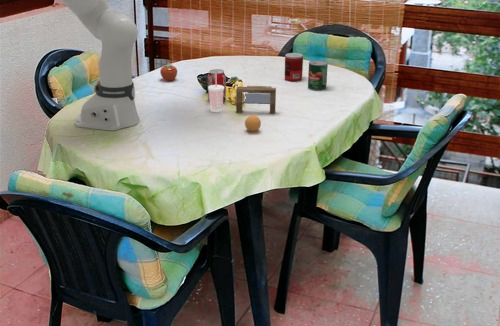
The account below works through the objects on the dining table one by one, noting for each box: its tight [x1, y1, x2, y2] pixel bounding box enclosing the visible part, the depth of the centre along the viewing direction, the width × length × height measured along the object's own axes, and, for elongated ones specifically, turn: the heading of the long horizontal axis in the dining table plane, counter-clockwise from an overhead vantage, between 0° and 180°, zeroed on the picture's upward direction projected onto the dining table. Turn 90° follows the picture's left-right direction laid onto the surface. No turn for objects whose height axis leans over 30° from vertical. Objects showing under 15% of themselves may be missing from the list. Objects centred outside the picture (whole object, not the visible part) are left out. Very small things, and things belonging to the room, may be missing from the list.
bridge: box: [235, 86, 277, 115], centre depth 231 cm, size 3×14×9 cm, turn 86°
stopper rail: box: [246, 85, 273, 88], centre depth 254 cm, size 10×2×2 cm, turn 86°
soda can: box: [207, 68, 227, 102], centre depth 242 cm, size 7×7×12 cm
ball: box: [244, 114, 262, 132], centre depth 213 cm, size 6×6×6 cm
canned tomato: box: [307, 59, 329, 92], centre depth 259 cm, size 8×8×11 cm
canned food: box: [284, 52, 304, 83], centre depth 271 cm, size 8×8×11 cm
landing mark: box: [243, 92, 270, 105], centre depth 247 cm, size 12×12×1 cm
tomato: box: [159, 62, 178, 82], centre depth 269 cm, size 7×7×8 cm
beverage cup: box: [207, 74, 224, 113], centre depth 231 cm, size 6×6×14 cm
